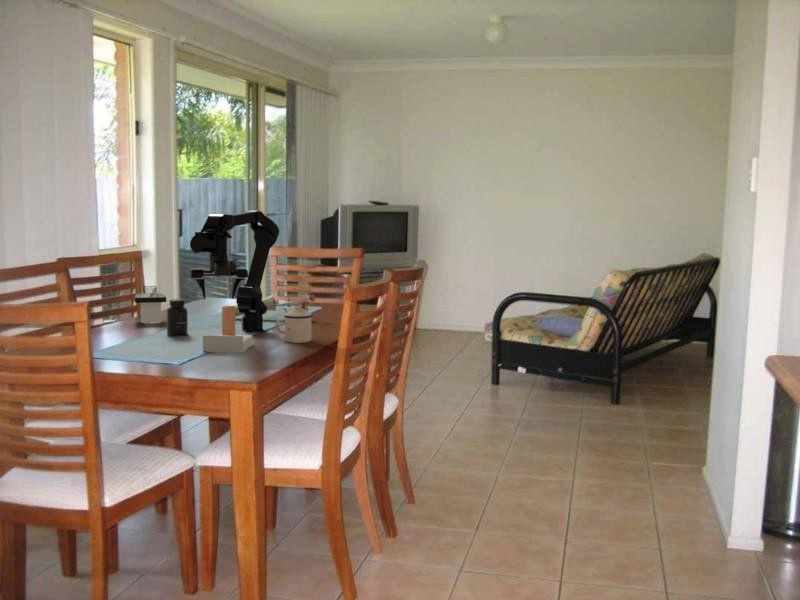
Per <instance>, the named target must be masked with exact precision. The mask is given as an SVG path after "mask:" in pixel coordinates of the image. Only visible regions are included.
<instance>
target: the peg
mask: <svg viewBox="0 0 800 600" xmlns="http://www.w3.org/2000/svg"><path fill="white" fill-rule="evenodd" d="M221 326H222V327H221V328H222V329H221V330H222V331H221V335H232V336H235V335H236V317H235V305H224V306H221Z"/></svg>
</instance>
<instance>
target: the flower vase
mask: <svg viewBox="0 0 800 600" xmlns="http://www.w3.org/2000/svg"><path fill="white" fill-rule="evenodd" d="M310 292H311V288H309V289H308V290H307V291H306V293H305V297H306V296H309V294H310ZM292 294H294V293H293V291H292ZM298 296H299V291H298V290H297V293H296V297H295V298H294V297H293V298H292V300H291V298H290V297H289V298H288V299H287V300H285V302H284V303H283V304H276V303H277V302H276V300H275V297H274V295H273V294H271V295H269V296H267V297H264V298H262V301H263V303H264V304H265V305H266V307H267V311H277V307H282V310H283V311H285V313H287V312H288V310H287V308H284V307H285V306H287V307H288V308H291V307H292V304H295V303H298V302H300V304H295V306H301V309H304V310H305V311H307V312H309V308H308V305H309V304H310V302H314V301H315V300H316V296H315V295H314V294H311V295H310V296H309V297H308V298H304V299H301V300H297V299H296V298H298ZM290 300H291V301H290ZM296 300H297V301H296ZM307 300H310V302H308V301H307ZM286 302H287V303H286ZM234 306H235V318H236V317H239V316H243V313H239V309H238V306H237V304H236V305H234Z"/></svg>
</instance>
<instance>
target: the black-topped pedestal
mask: <svg viewBox="0 0 800 600" xmlns="http://www.w3.org/2000/svg"><path fill="white" fill-rule="evenodd" d="M157 287H158V286H157V285H153V286H152V285H148V287H147V285H145V286H144V285H141V293H136V294H135V296H134V303H136V304H140V324H141V323H144V324H152V323H151V322H161V323H162V303H167V295H165V294H163V293H161V292H158V288H157Z"/></svg>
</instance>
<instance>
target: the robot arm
mask: <svg viewBox="0 0 800 600" xmlns="http://www.w3.org/2000/svg"><path fill="white" fill-rule="evenodd" d="M246 224H249V226H250V229H251V231H252V232H253V239H254V242H255V248H254V252H253V256H252V259H251V263H250V266H249V267H250V268H249V271H248V269H247V268H243V267H237V262H236V260H229V259H228V239H232V235H231V234H230V233H229V231H231V230H233V229H234V227H237V226H242V225H246ZM279 235H280V228H279V226H278V225H277V223H275V222H274V221H273V220H272V219H271V218H269V217H268V216H267V215H265V214H264V213H263V212H262V210H256V209H255V210H250V209H249V210H248V211H242V212H237V213H231V214H223V213H222V214H221V213H210V214H208V215H207V218H206V221H205V222H204V224H203V226H202V227H201V230H200V231H195V232H194V235H193V236H192V238H191V240H190V242H189V247H190V249H191V251H192V252H193V253H195V254H203V253H204V254H208V253H209V270H208V269H207V270H204V269H203V268H201V267H200V268H199V267H198V268H197V267H196V268H191V267H190V268H189V269H188V277H189V278H190V279H192V280H194V281H195V282H196V283H197V285H198V287H199V290H200V293H201V295H202V299H203V300H206V296H207V295H206V286H205V278H204V277H210V276H211V277H223V276H224V277H230V276H231V287H230V288H231V289H230V290H231V291H230V297H231V299H232V300H233V299H234V298H236V299H235V300H236V305H237V306H238V309H239V313H243V315H242V316H241V330H242V331H244V332H245V331H246V333H248V332H249V333H250V332H265V329H264V328H263V320H264V319H263V315H266V314H267V311H268V310H267V307H266V305H265V304H264V303H263V301H262V299H263V292H262V288H261V284H262V281H263V277H264V273H265V269H266V266H267V265H266V264H267V261H268V257H269V254H270V250H271V248H272V247H273V246H274V245H275V243H276V242H277V240H278V237H279ZM232 276H233V277H232ZM245 278H247V279H246V282H245V284H244V285H243V286H239V284H240V283H241V281H244V280H245ZM238 286H239V287H238ZM236 291H237V294H236ZM235 295H236V296H235Z"/></svg>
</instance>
